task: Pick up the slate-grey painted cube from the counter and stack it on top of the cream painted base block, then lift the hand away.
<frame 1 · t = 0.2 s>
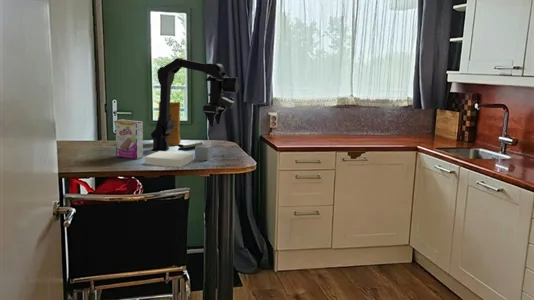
hand: (215, 125, 217), 14 cm above the table, fingers open, 9 cm apart
candy bar box: (129, 157, 207), on the table
grey cube: (203, 159, 211), on the table
base block: (169, 162, 201), on the table
coffee package: (168, 144, 242), on the table
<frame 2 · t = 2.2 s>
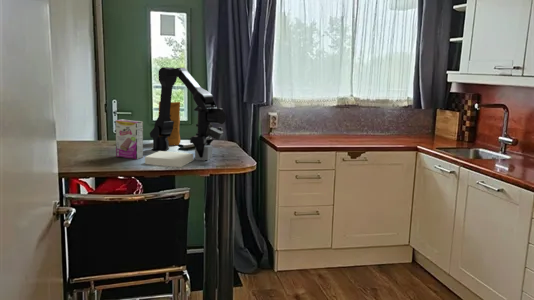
hand: (203, 156, 210), 1 cm above the table, fingers closed on grey cube, 6 cm apart
grey cube: (203, 158, 211), on the table, touching gripper
everything else where it was.
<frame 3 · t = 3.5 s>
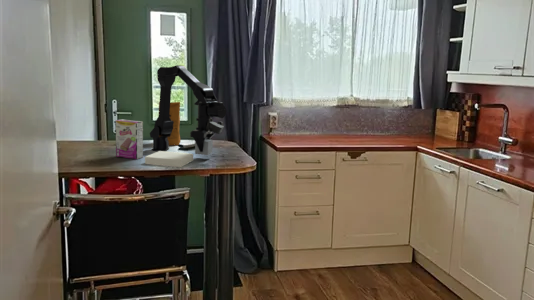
hand: (203, 150, 210), 4 cm above the table, fingers closed on grey cube, 6 cm apart
grey cube: (203, 153, 210), point 3 cm above the table, touching gripper
everything else where it was.
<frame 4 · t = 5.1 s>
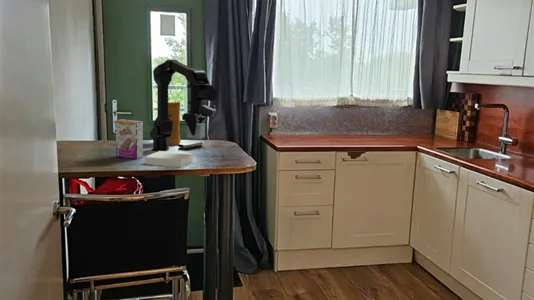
hand: (195, 134, 206), 11 cm above the table, fingers closed on grey cube, 6 cm apart
grey cube: (196, 137, 206), point 10 cm above the table, touching gripper
everything else where it was.
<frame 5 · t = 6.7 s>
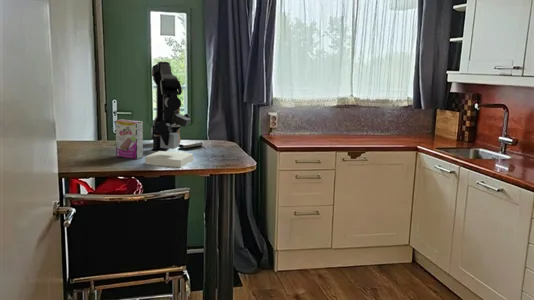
hand: (169, 144, 200), 8 cm above the table, fingers closed on grey cube, 6 cm apart
grey cube: (169, 147, 200), point 7 cm above the table, touching gripper
everything else where it was.
when the fingers open (5 cm above the table, at t = 8.0 s): grey cube stays where it is, resting on base block.
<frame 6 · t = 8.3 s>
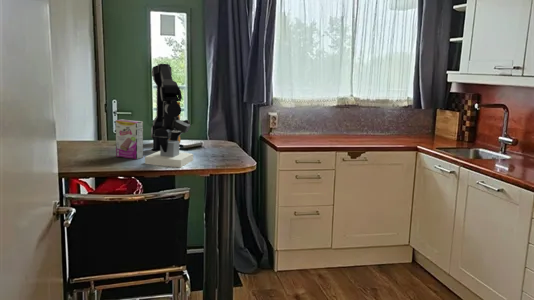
hand: (169, 150, 200), 5 cm above the table, fingers open, 9 cm apart
grey cube: (169, 155, 201), point 3 cm above the table, touching base block
everything else where it was.
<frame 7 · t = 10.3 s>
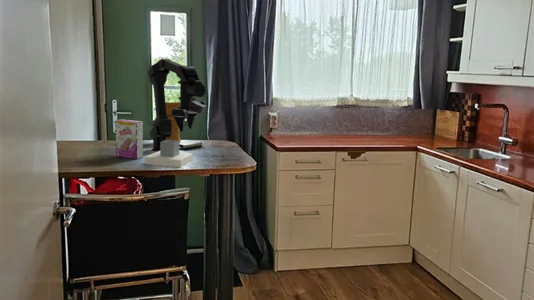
hand: (186, 130, 208), 13 cm above the table, fingers open, 9 cm apart
nothing on the table moved.
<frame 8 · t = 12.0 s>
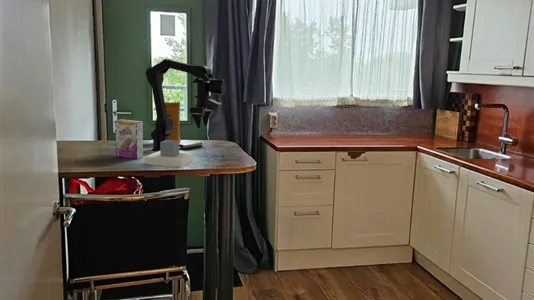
hand: (202, 127, 218), 13 cm above the table, fingers open, 9 cm apart
nothing on the table moved.
at the end: grey cube inside the target area on the base block (0.0 cm from its centre), point 3.0 cm above the base block's base; grey cube touching base block; grey cube tilted 0° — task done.
